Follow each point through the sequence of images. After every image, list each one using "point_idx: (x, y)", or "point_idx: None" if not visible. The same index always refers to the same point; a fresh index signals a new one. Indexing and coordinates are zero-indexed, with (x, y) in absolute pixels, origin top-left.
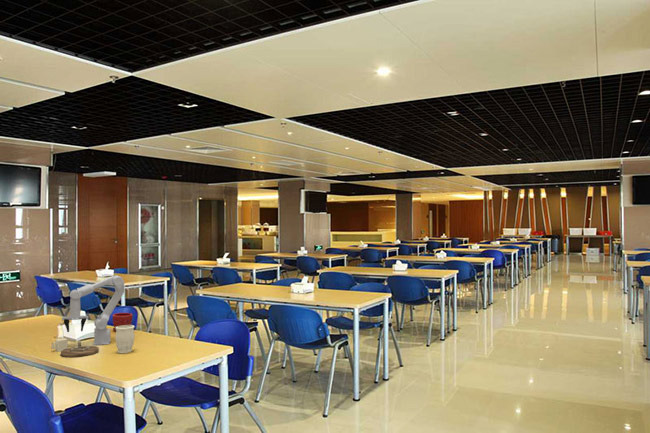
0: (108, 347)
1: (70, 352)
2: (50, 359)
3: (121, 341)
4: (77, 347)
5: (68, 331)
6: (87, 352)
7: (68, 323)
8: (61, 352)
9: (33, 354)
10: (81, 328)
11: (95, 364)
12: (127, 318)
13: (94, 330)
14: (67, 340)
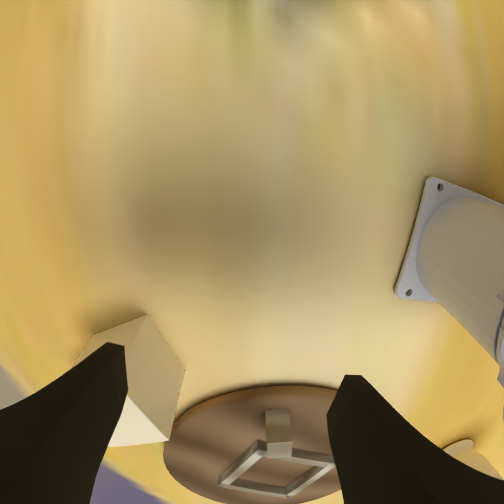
0: (445, 385)
1: (223, 487)
2: (142, 480)
3: None
4: (261, 454)
5: (125, 393)
6: (305, 500)
7: (65, 498)
8: (173, 474)
9: (15, 364)
10: (341, 458)
11: None
12: None
13: (495, 326)
14: (170, 431)
